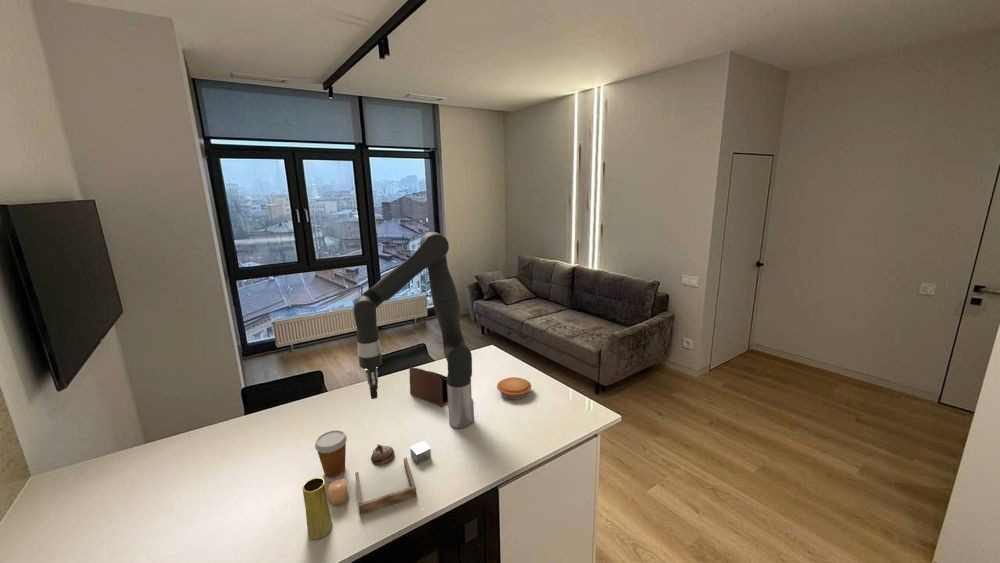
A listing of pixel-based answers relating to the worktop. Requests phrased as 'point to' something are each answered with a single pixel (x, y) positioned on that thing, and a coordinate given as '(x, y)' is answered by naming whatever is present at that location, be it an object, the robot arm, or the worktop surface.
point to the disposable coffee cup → (332, 452)
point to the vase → (317, 508)
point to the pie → (514, 387)
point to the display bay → (389, 498)
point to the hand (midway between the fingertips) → (374, 397)
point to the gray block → (420, 452)
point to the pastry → (382, 455)
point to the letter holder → (429, 386)
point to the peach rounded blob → (338, 492)
